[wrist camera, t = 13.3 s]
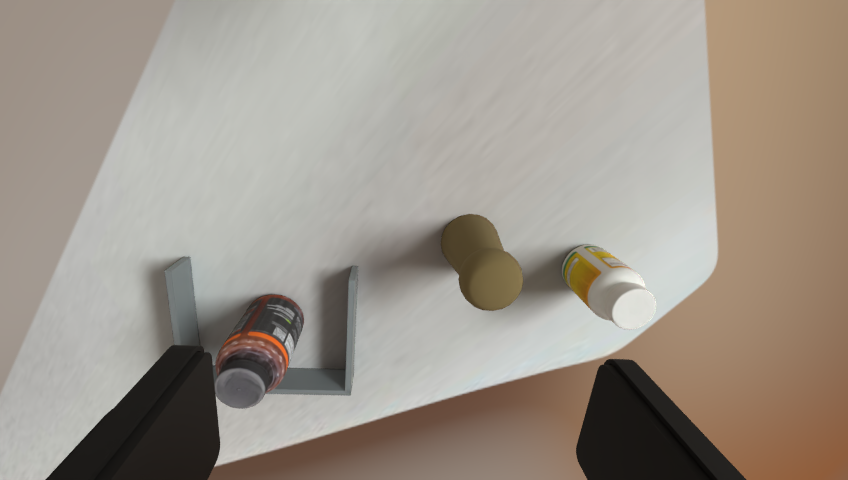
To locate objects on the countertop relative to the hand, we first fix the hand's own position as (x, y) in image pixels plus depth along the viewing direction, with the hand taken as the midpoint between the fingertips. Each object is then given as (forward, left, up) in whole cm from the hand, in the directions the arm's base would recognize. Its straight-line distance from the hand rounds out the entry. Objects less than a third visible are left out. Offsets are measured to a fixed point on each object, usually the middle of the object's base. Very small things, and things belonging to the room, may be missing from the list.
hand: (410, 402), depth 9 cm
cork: (+6, +8, -31) cm, 32 cm away
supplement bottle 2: (+8, +21, -31) cm, 38 cm away
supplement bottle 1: (+16, -12, -31) cm, 36 cm away
